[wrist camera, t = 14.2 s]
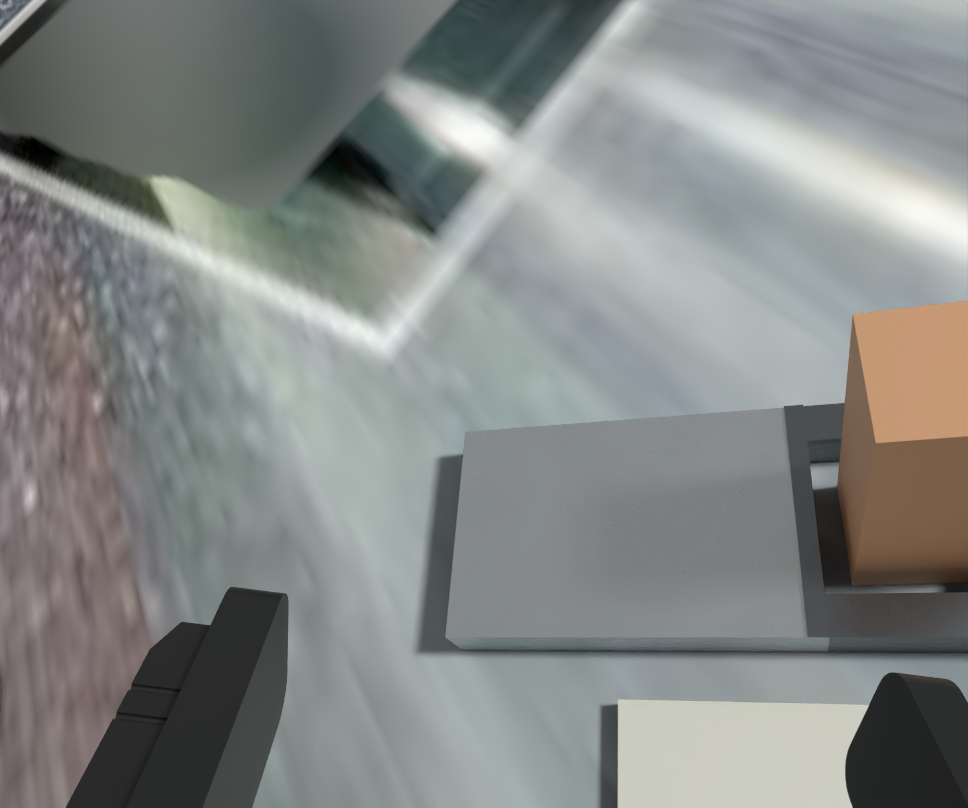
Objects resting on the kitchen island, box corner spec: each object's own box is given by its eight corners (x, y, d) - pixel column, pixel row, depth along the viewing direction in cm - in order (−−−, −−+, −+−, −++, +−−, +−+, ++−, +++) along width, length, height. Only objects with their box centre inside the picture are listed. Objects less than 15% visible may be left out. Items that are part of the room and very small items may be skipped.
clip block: (851, 586, 32) (875, 443, 22) (837, 486, 34) (852, 314, 24) (972, 582, 31) (1055, 429, 21) (950, 479, 33) (1016, 295, 23)
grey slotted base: (461, 650, 35) (444, 636, 33) (479, 451, 40) (464, 430, 38) (1231, 653, 27) (1260, 636, 26) (1148, 405, 32) (1168, 376, 30)
